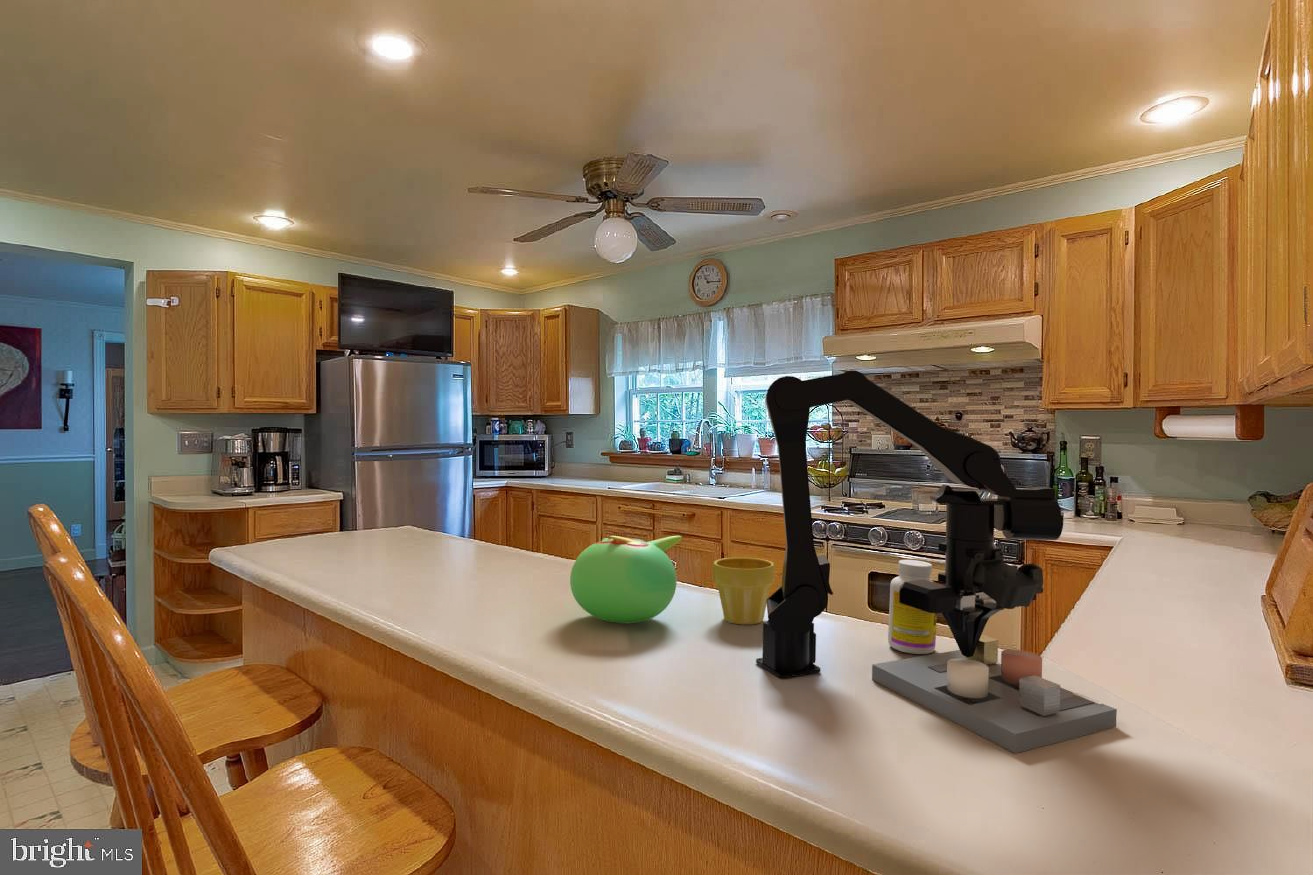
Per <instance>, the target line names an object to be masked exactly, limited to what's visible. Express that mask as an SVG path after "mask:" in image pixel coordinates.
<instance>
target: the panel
mask: <svg viewBox="0 0 1313 875" xmlns="http://www.w3.org/2000/svg"><path fill="white" fill-rule="evenodd" d="M956 658H961V659H967V658H965V656H963V655H962V653H961V651H960V649H956V650H951V651H944V652H938V653H932V654H925V655H921V656H914V657H908V658H904V659H897V660H891V661H885V662H879V663H873V664H871V681H874V682H877V683H878V684H879V685H882V686H883V687H884V688H887V689H889V690H891V691H894V692H895V693H897V694H899V695H900V696H903V697H905V698H907V699H908V700H911V701H912V702H914V703H917V704H918V705H920V706H922V707H924V708H926V709H928V710H930V711H932V712H934V713H935V714H937V715H940V716H942V717H944V718H945V719H948V721H949V720H950V721H951V722H954V723H956V724H957V725H959V726H961V727H964V728H965V729H967V730H969V731H971V732H973V733H975V734H976V735H978V736H981V737H982V738H984V739H986V740H988V741H989V742H992V743H993V744H996V745H998V746H1000V747H1002V748H1004V749H1006V750H1007V751H1009V752H1011V753H1013V754H1018V753H1022V752H1026V751H1029V750H1033V749H1037V748H1041V747H1044V746H1045V747H1046V746H1049V745H1052V744H1056V743H1059V742H1064V741H1067V740H1072V739H1076V738H1079V737H1083V736H1087V735H1091V734H1095V733H1098V732H1099V733H1100V732H1102V731H1106V730H1110V729H1113V728H1117V715H1118V714H1117V708H1115V707H1112V706H1110V705H1106V704H1104V702H1100V701H1099V700H1096V699H1094V698H1091V697H1089V696H1086V695H1084V694H1081V693H1078V692H1074V691H1072V690H1068V689H1066V688H1063V687H1061V686H1060V712H1059V713H1055V714H1051V715H1046V716H1043V715H1040V714H1038V713H1036V712H1033V711H1031V710H1029V709H1027V708H1024V707H1022V706H1020V705H1019V685H1015V684H1012V683H1009V682H1007V681H1005V680H1003V679H1002V678H1001V662H998V663H993V664H987V666H988V667H989V679H988V696H986V697H984V698H968V697H963V696H959V695H956V694H954V693H952V692H950V691H949V690H948V689H947V661H948V660H950V659H956ZM962 699H966V700H968V701H971V702H972V704H968V703H966V702H964V701H962ZM973 703H974V704H973Z"/></svg>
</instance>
